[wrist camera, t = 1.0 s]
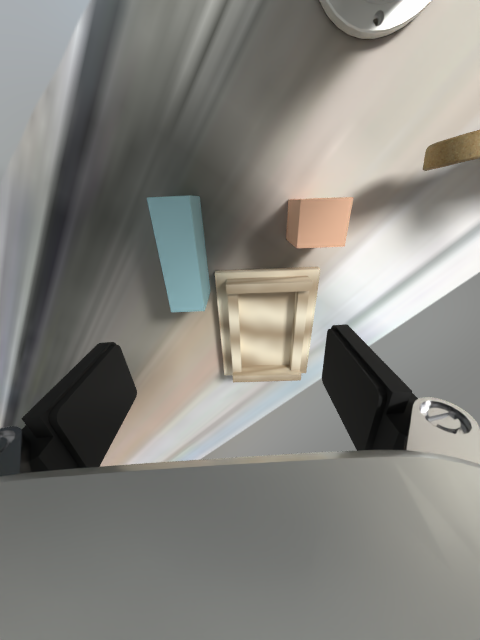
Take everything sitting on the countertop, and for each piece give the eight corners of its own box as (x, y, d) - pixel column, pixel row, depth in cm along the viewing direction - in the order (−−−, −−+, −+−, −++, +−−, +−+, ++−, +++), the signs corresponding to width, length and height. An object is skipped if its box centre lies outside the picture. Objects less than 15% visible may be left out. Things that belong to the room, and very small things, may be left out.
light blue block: (166, 197, 26) (146, 197, 21) (199, 196, 26) (189, 195, 20) (183, 292, 32) (171, 312, 26) (210, 291, 32) (204, 310, 26)
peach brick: (288, 199, 26) (300, 199, 21) (330, 197, 26) (353, 197, 21) (286, 239, 28) (296, 248, 23) (324, 237, 28) (344, 246, 23)
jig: (215, 270, 30) (212, 279, 27) (317, 266, 30) (326, 275, 27) (224, 370, 39) (223, 386, 36) (304, 368, 39) (310, 383, 35)
